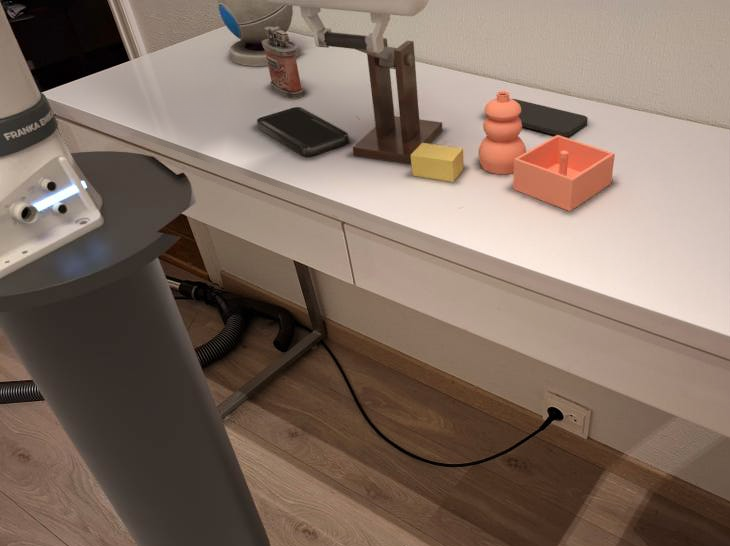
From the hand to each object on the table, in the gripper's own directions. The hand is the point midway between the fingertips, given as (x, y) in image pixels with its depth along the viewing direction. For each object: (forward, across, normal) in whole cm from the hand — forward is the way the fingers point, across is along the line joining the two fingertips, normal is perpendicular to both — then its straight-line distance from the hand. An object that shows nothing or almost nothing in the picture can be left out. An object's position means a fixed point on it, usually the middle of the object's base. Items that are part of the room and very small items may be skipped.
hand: (350, 48), depth 81 cm
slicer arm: (+3, 0, +5) cm, 6 cm away
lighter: (+17, -27, +24) cm, 40 cm away
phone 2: (+16, +17, +25) cm, 34 cm away
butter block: (+16, +9, +4) cm, 19 cm away
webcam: (+16, -41, +39) cm, 59 cm away
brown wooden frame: (+16, 0, +11) cm, 20 cm away
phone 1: (+16, -15, +9) cm, 24 cm away
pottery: (+17, +22, +7) cm, 28 cm away
